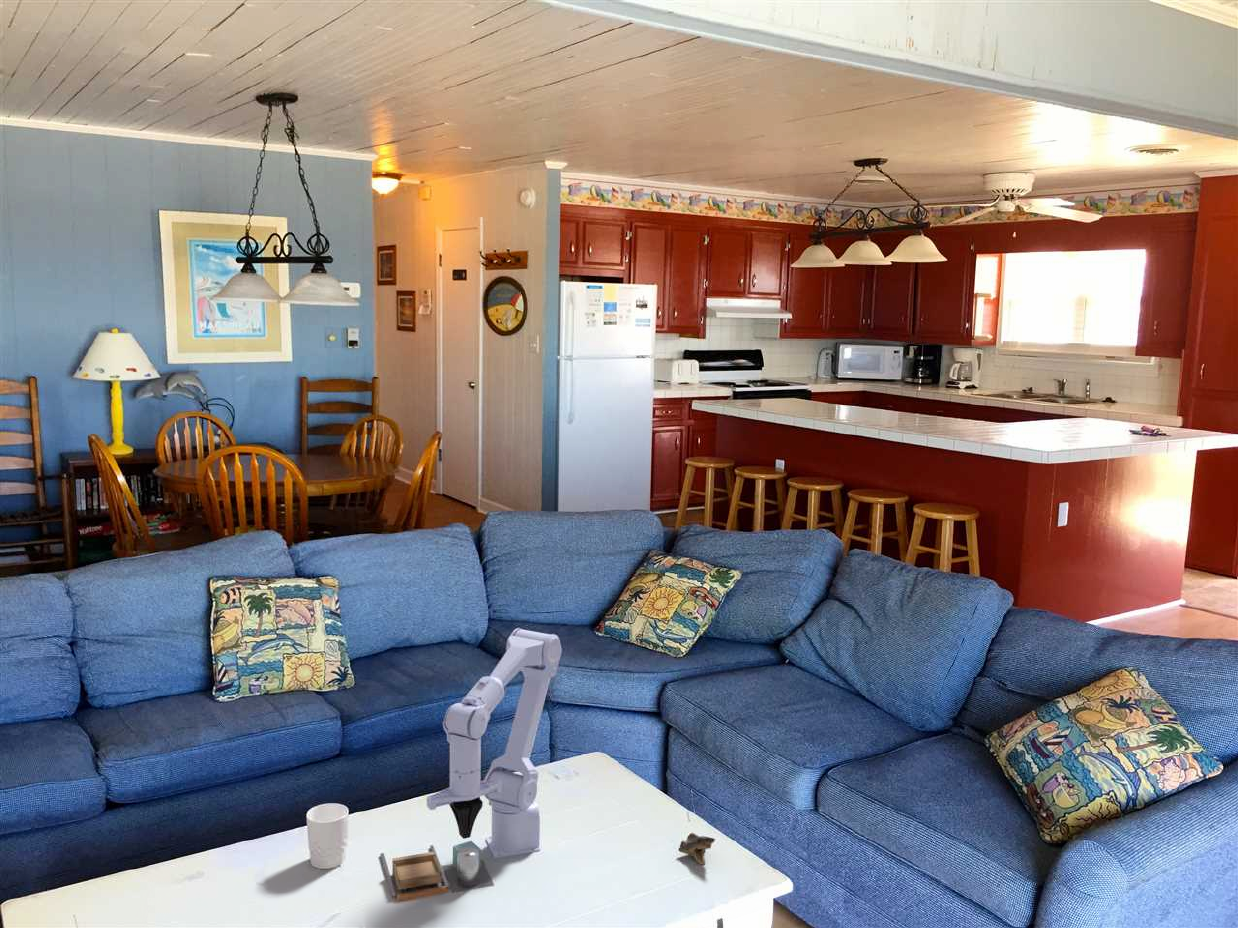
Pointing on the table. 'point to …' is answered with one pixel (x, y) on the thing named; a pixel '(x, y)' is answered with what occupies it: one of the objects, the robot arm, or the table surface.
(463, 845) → the part
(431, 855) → the brown wooden tray
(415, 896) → the track
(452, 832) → the table surface
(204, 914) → the table surface
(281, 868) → the table surface
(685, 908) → the table surface
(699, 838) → the shark head
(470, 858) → the part
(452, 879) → the mat
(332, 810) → the white cup
